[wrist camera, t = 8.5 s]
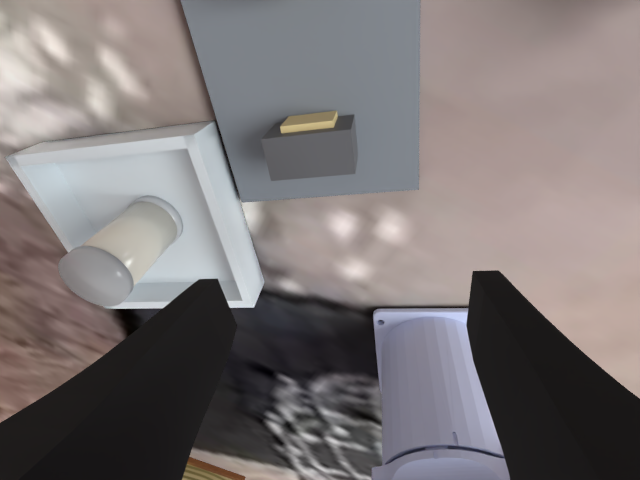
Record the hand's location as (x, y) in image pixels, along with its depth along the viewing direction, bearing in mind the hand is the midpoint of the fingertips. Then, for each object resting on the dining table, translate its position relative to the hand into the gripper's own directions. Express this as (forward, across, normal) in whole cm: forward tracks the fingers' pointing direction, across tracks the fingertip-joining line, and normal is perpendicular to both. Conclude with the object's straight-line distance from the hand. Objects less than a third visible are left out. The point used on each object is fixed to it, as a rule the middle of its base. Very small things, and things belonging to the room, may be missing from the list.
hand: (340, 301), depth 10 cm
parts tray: (+10, +13, +2) cm, 17 cm away
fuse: (+10, +13, +2) cm, 16 cm away
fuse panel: (+10, +2, -6) cm, 12 cm away
